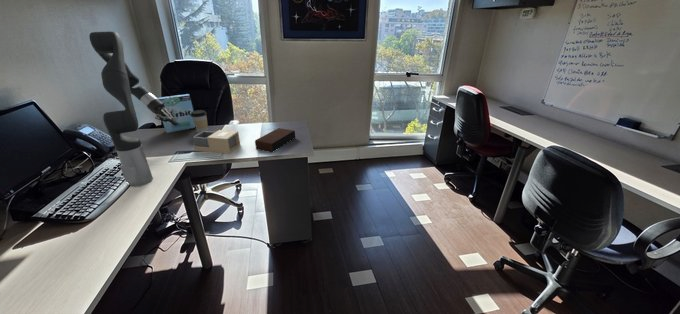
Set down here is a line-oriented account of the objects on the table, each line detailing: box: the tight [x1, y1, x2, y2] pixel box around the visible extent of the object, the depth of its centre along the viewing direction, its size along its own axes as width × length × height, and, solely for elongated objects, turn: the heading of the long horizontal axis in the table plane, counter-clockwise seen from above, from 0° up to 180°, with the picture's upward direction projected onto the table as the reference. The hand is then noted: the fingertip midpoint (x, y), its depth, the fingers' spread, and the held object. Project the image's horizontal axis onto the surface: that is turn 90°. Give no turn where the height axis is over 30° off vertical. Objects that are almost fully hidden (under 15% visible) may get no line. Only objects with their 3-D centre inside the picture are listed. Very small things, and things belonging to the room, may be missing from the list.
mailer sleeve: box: [193, 129, 241, 155], centre depth 161 cm, size 12×22×9 cm, turn 79°
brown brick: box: [254, 127, 296, 153], centre depth 168 cm, size 24×12×6 cm, turn 156°
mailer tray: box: [192, 130, 236, 148], centre depth 161 cm, size 10×20×7 cm, turn 79°
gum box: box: [157, 93, 196, 134], centre depth 186 cm, size 20×5×23 cm, turn 123°
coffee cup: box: [191, 109, 209, 135], centre depth 180 cm, size 9×9×15 cm
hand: (176, 124), depth 161 cm, fingers closed
